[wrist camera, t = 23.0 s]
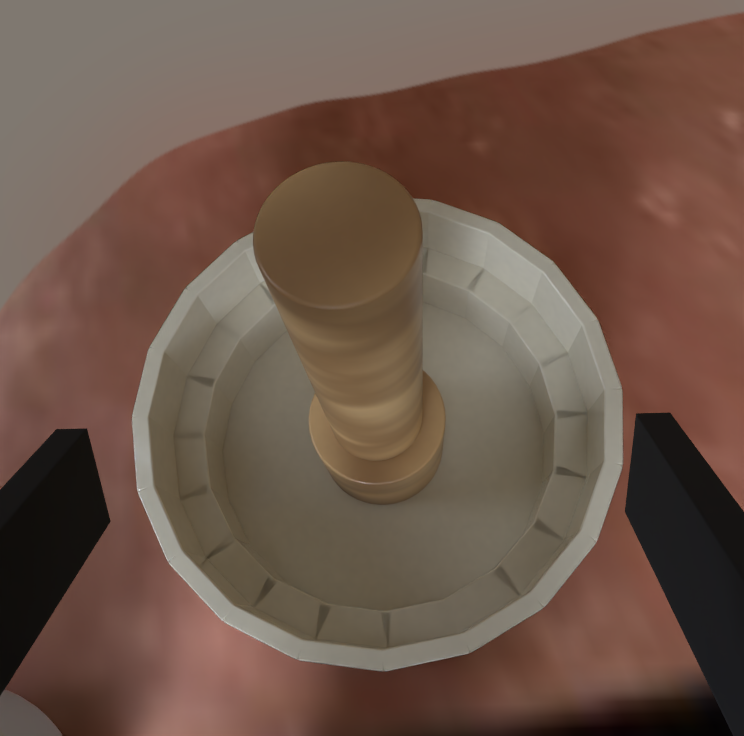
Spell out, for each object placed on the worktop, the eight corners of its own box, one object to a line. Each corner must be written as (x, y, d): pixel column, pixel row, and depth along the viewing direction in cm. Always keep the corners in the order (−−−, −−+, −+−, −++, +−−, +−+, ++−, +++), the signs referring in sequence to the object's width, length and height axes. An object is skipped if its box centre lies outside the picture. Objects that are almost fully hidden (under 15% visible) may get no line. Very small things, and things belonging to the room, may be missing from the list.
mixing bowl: (116, 548, 28) (39, 527, 22) (297, 226, 33) (271, 143, 27) (496, 741, 25) (517, 774, 19) (635, 351, 29) (685, 286, 24)
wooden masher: (302, 475, 28) (162, 292, 13) (354, 371, 29) (281, 97, 14) (413, 525, 27) (402, 391, 12) (461, 415, 28) (505, 170, 13)
